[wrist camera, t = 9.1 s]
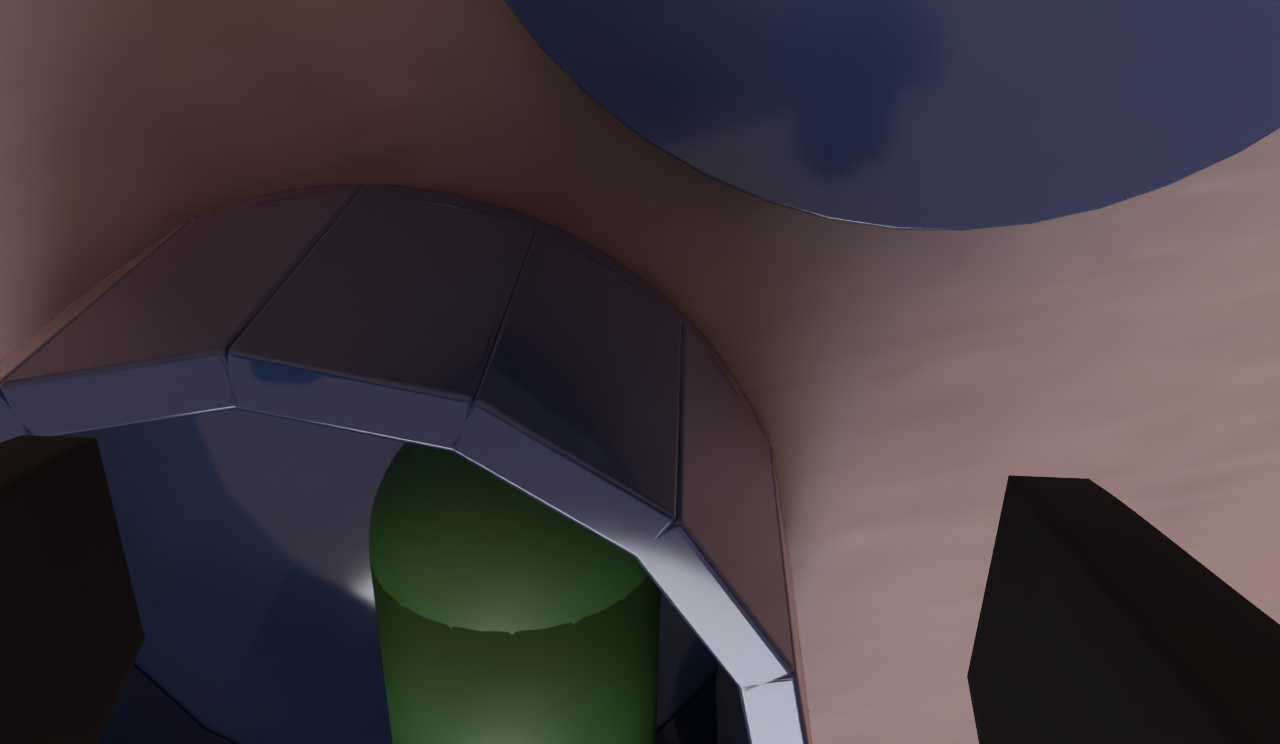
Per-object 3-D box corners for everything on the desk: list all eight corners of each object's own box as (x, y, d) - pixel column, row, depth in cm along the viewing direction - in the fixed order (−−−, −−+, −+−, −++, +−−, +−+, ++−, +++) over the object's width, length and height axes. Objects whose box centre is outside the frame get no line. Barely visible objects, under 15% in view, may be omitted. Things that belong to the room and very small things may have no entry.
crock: (15, 99, 15) (-301, 243, 11) (880, 282, 16) (960, 495, 11) (53, 736, 21) (-139, 1019, 16) (689, 850, 22) (687, 1155, 17)
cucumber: (284, 436, 14) (553, 535, 12) (481, 319, 17) (717, 384, 15) (353, 872, 18) (566, 996, 16) (503, 711, 21) (696, 799, 19)
